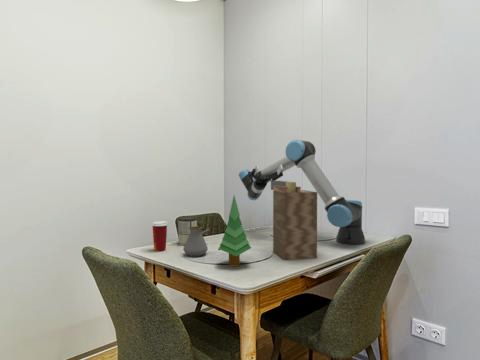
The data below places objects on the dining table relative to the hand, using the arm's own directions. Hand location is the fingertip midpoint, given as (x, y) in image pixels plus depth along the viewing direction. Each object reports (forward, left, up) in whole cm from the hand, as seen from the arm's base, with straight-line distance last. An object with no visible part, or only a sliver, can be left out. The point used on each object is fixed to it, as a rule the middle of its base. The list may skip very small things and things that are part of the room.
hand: (269, 166), depth 181 cm
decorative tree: (+28, +34, -42) cm, 61 cm away
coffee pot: (+37, +12, -42) cm, 57 cm away
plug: (+1, +21, -12) cm, 24 cm away
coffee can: (+43, -11, -42) cm, 61 cm away
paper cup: (+58, 0, -42) cm, 72 cm away
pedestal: (-3, +26, -42) cm, 49 cm away
